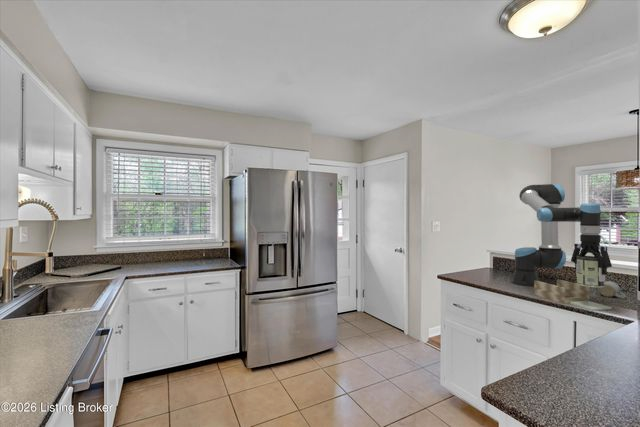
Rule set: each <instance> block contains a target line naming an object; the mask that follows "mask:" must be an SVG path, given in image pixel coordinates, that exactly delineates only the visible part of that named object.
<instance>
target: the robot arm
mask: <svg viewBox="0 0 640 427" xmlns="http://www.w3.org/2000/svg"><path fill="white" fill-rule="evenodd" d="M565 198H566V193H565V190H564V188H563V187H562V185H560V184H557V183H546V184H530V185H527V186H525V187H523V188H522V189H521V191H520V192H519V200H520V201H521V202H522V203H523V204H524V205H528V206H529V207H530V208H531V209H532V210H534V211H535V212H536V218H537V220H538V221H539V222H540V223H541V224H540V227H541V230H540V231H541V233H540V234H541V237H540V238H541V244H540V245H539V246H538V249H537V248H536V247H532V246H531V247H527V246H526V247H519V248H515V250H514V273H513V275H512V278H511V282H512V284H516V285H519V286H525V287H526V286H528V287H534V281H540V280H539V276H538V273H537V269H552V270H554V269H562V268H563V267H564V266H565V265H566V262H567V255H566V252H565V250H562V247H561V246H560V245H559V223H560V222H561V223H564V222H565V223H566V222H567V223H568V222H569V223H572V222H573V223H579V227H580V228H579V232H580V235H579V239H580V243H574V244H573V245H574V249H573V252H572V256H571V259H570V262H572V263H573V264H574V266H575V267H574V269H575V272H576V274H575V275H576V278H577V257H576V256H580V257H583V256H587V254H592V256H595V258H596V259H599V265H600V268H599V281H600V282H602V281H604V282H606V276H607V274H608V268H612V267H613V266H612V261H611V259H610V256H609V253H608V246H606V245H604V246H602V245H600V243H601V211H602V210H601V205H600V203H596V202H594V203H593V202H591V203H588V202H587V203H585V202H584V203H581V204H579V207H560V206H561V204H562V203H563V202H565ZM600 259H602V260H600Z"/></svg>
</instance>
